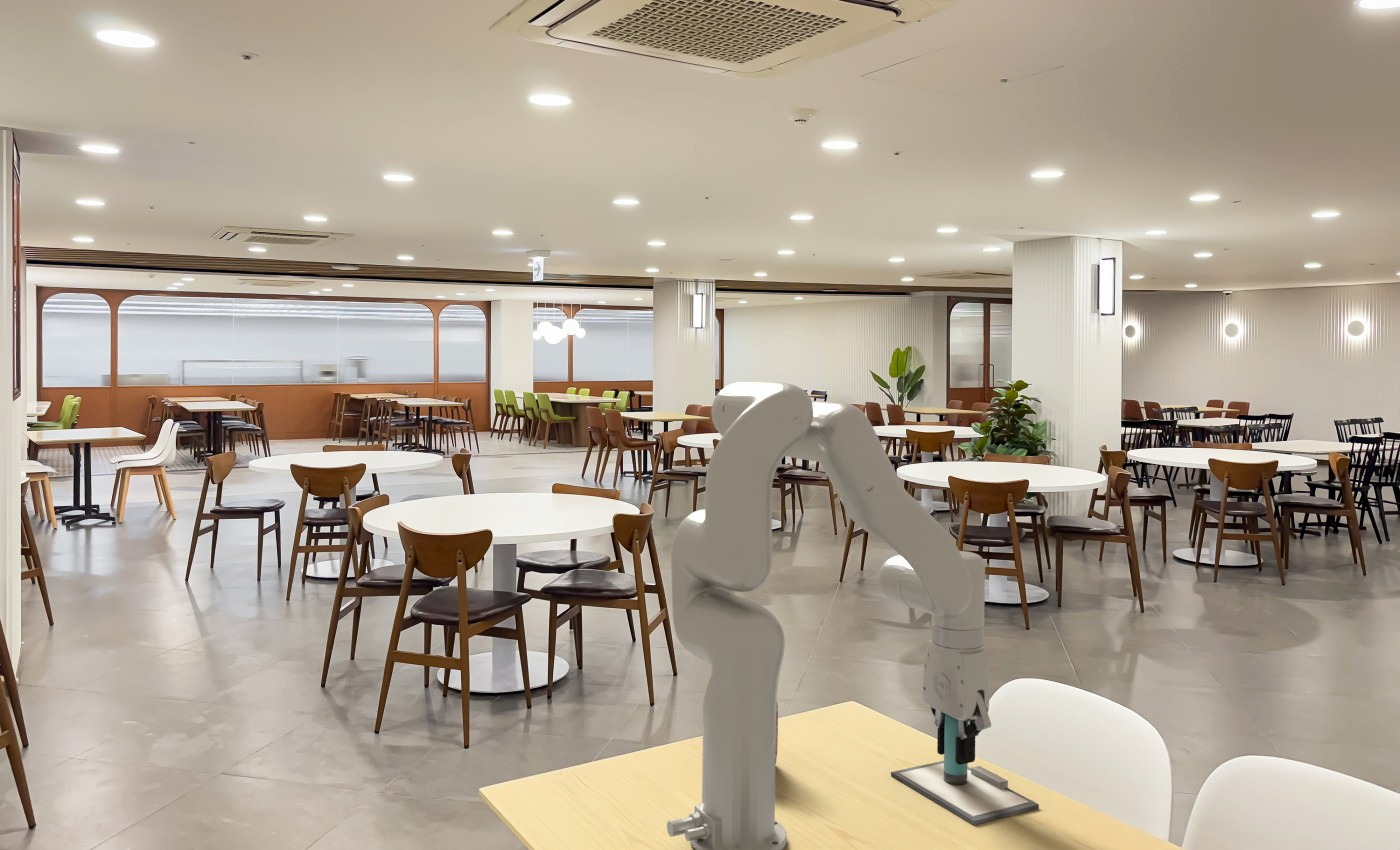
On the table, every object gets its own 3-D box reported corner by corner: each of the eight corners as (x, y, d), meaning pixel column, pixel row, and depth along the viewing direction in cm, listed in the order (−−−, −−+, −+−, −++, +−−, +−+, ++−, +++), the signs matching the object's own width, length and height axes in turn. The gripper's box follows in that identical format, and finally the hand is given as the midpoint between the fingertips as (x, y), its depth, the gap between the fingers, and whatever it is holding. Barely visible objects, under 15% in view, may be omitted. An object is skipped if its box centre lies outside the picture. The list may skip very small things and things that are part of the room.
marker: (955, 787, 144) (957, 706, 143) (938, 778, 147) (939, 699, 146) (972, 782, 146) (974, 702, 145) (955, 774, 149) (956, 696, 148)
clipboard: (973, 825, 133) (973, 813, 133) (890, 775, 149) (891, 764, 149) (1038, 808, 139) (1039, 796, 139) (952, 762, 155) (952, 751, 155)
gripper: (902, 625, 151) (901, 742, 152) (976, 654, 136) (974, 783, 137) (941, 619, 154) (939, 734, 155) (1017, 647, 139) (1015, 773, 140)
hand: (956, 756), depth 146 cm, fingers closed on marker, 3 cm apart
